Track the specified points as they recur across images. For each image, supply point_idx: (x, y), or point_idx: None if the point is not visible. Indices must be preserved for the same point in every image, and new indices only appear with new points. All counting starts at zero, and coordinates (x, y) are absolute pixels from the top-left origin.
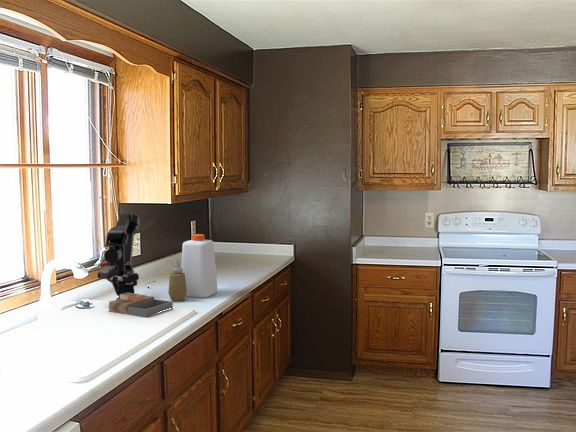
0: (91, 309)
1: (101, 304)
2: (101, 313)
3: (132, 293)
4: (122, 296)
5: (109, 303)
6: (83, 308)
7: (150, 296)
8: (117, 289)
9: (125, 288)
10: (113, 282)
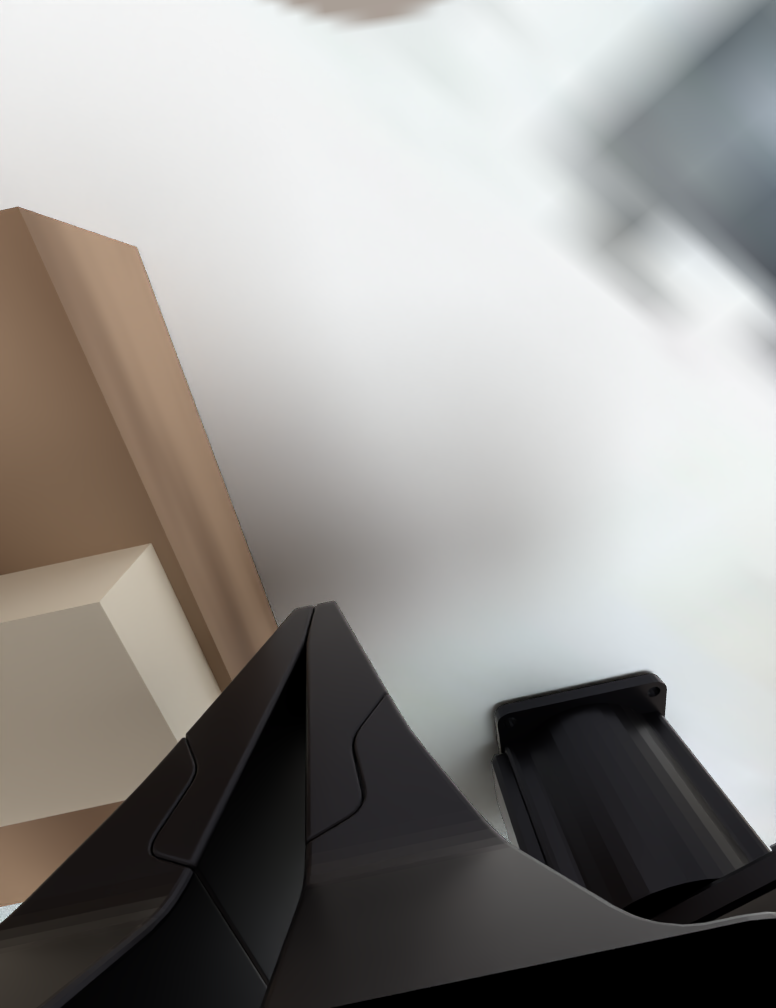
0: (512, 103)
1: (635, 435)
2: (70, 18)
3: (17, 798)
4: (42, 594)
5: (36, 218)
6: (701, 40)
7: (24, 893)
8: (248, 702)
9: (605, 873)
10: (289, 939)
